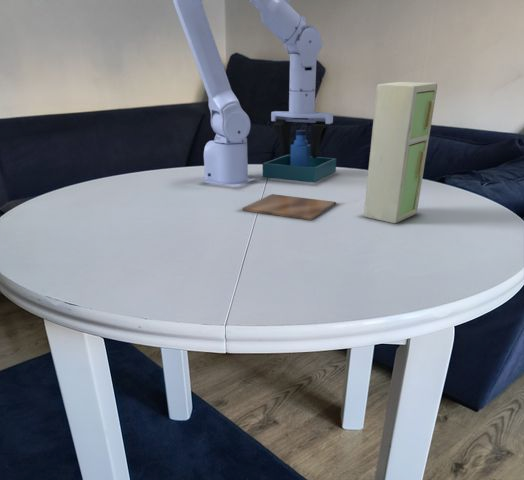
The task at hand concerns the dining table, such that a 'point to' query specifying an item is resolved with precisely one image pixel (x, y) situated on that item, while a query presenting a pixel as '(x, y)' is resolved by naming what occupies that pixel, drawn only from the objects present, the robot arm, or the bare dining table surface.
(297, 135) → the water bottle
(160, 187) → the dining table surface
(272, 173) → the teal square tray
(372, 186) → the toy refrigerator
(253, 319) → the dining table surface
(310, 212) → the brown wooden board
